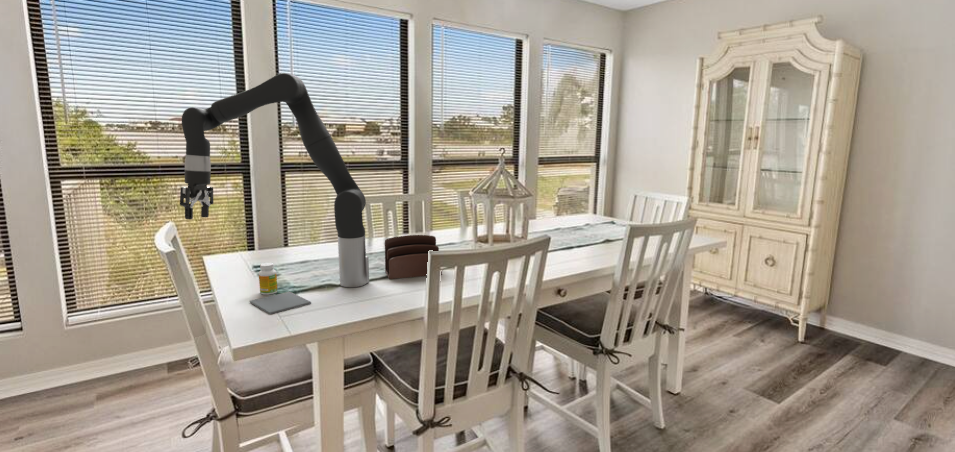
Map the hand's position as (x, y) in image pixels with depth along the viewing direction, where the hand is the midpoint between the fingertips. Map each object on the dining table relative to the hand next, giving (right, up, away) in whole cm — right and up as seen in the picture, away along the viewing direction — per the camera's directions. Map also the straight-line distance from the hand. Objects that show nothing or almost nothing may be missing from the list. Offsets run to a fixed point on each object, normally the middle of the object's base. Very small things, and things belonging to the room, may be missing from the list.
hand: (197, 218), depth 168 cm
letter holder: (+70, -21, +22) cm, 76 cm away
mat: (+32, -27, -11) cm, 44 cm away
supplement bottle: (+25, -25, -2) cm, 35 cm away
